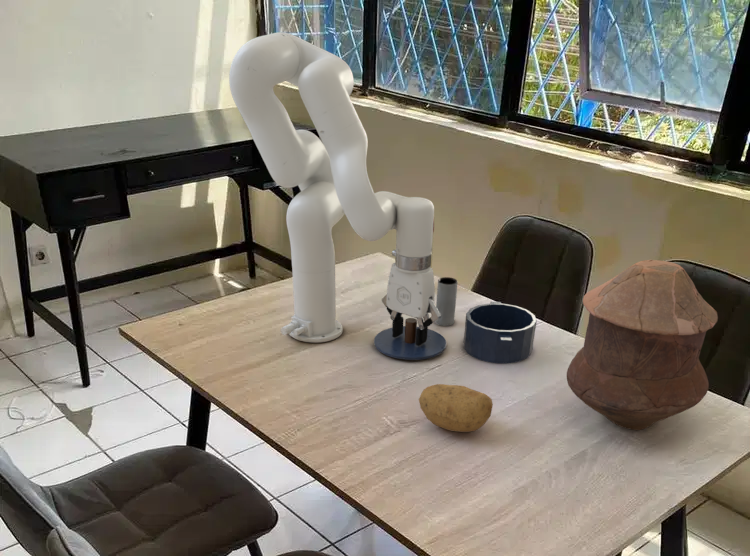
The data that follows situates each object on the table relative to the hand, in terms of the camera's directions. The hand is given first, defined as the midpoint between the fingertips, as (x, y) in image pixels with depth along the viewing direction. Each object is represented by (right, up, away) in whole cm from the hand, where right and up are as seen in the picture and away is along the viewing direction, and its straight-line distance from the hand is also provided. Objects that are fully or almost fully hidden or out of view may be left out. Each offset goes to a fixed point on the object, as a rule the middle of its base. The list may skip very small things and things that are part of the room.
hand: (409, 338), depth 174 cm
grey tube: (+9, +6, +12) cm, 16 cm away
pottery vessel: (+41, -20, -22) cm, 51 cm away
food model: (+3, +20, +30) cm, 36 cm away
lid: (0, -1, +1) cm, 1 cm away
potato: (+7, -22, -27) cm, 36 cm away
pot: (+20, -2, +1) cm, 20 cm away
